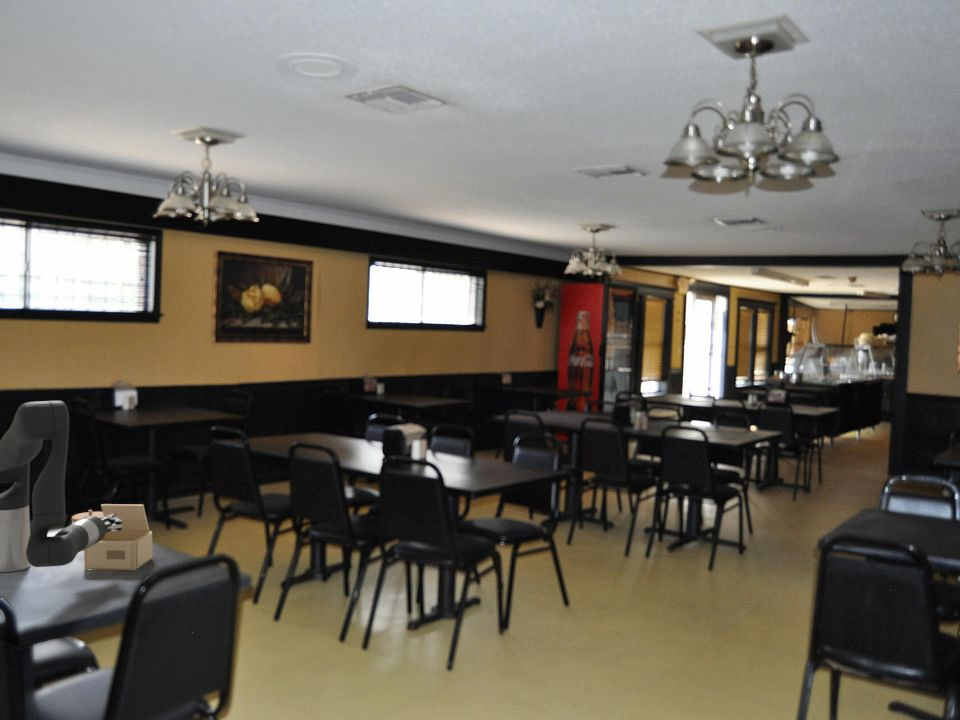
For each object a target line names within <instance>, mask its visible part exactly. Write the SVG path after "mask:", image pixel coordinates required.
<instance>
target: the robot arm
mask: <svg viewBox="0 0 960 720" xmlns="http://www.w3.org/2000/svg"><path fill="white" fill-rule="evenodd" d="M69 432H70V414H69V409H68V406H67V405H66V403H65V402H64V401H63V400H44V401H41V400H40V401H38V400H37V401H28V402H24V403H22V404H21V405H19V407H18V408H17V410H16V412H15V415H14V418H13V420H12V423H11V425H10V427H9V428H8V430H7V431H6V432H5V433H4V435H3V436H2V437H1V439H0V484H7V483H8V484H9V483H13V484H12V485H11V487H10V488H9V489H7V490H5V491H3V492H2V493H0V573H12V572H18V571H22V570H25V569H28V568H30V567H31V566H32V567H33V568H45V567H61V566H66V565H68V564H69V565H70V563H72V562H74V560H75V559H76V557H77V555H78V553H81V552H82V551H84V550H85V549H87V548H89V547H91V546H93V545H94V544H96V543H98V542H99V541H101V540H102V539H103V537H104V536H105V534H106V532H110V531H113V530H112V529H114V528H115V530H114V531H123V530H122V521H121V520H120V519H119V518H117V516H116V514H110V515H108V516H106V517H104V516H103V517H96V516H86V517H84V518H82V519H80V520H78V521H76V522H74V523H72V522H71V524H69V525H68V526H66V527H64V528H62V529H61V530H60V531H58V532H56V534H55V535H53V536H48V533H49V531H50V529H51V528H54V527H58V526H61V525H64V523H65V521H66V518H67V516H66V494H65V491H66V490H65V488H66V487H65V485H66V484H65V482H66V481H65V478H66V469H67V461H68V446H69V437H70V436H69V434H70V433H69ZM44 440H52V447H51V452H50V455H49V458H48V461H47V462H46V464H45V466H44V468H43V470H42V471H41V472H40V474H39V476H38V478H37V480H36V482H35V483H34V486H33V489H32V495H31V505H32V522H31V521H30V472H31V471H30V469H31V468H30V465H31V463H30V462H31V461H33V460H34V459H35V458H36V456H38V455H39V453H40V451H41V450H42V447H43V444H44V442H43V441H44ZM30 522H31V523H32V524H30ZM30 525H31V526H30ZM30 527H31V529H30Z"/></svg>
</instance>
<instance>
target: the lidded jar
mask: <svg viewBox="0 0 960 720" xmlns="http://www.w3.org/2000/svg"><path fill="white" fill-rule="evenodd" d="M86 516H96V517H103V516H104V515H103V511H93V510H92V509H88V512H81V513H77V514H73V515H72V516H71V524H72V523H74V522H76V521H78V520H80V519H82V518H84V517H86Z"/></svg>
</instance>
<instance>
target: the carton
mask: <svg viewBox="0 0 960 720" xmlns="http://www.w3.org/2000/svg"><path fill="white" fill-rule="evenodd" d="M152 559H153V532H152V530H149V531H148V530H121V531H118V530H111V531H110V532H106V534H105V536H104V537H103V539H102V540H101V541H99V542H98V543H96V544H94V545H93V546H91V547H89V548H87V549H85V550H83V561H84V570H85V569H92V570H91V571H118V570H135V571H136V569H137V568H138V569H139V568H140V566H141V567H142V566H144V565H145V564H146V563H148V562H149V561H150V560H152ZM143 564H144V565H143ZM95 569H96V570H95ZM138 569H137V570H138Z"/></svg>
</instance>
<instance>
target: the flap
mask: <svg viewBox="0 0 960 720" xmlns="http://www.w3.org/2000/svg"><path fill="white" fill-rule="evenodd" d="M100 506H101V507H100V508H101V512H103V515H104V517H106V516H108V515H110V514H116V516H117V518H119V519H120V520H121V521H122V530H121V531H150V528H149V523H148V519H147V514H146V510H145V506H144V504H141V503H140V504H133V503H131V504H129V503H128V504H126V503H125V504H124V503H123V504H119V503H118V504H117V503H116V504H115V503H113V504H112V503H103V504H102V503H101V504H100ZM111 531H116V530H115V528H114V529H112V530H111Z"/></svg>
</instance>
